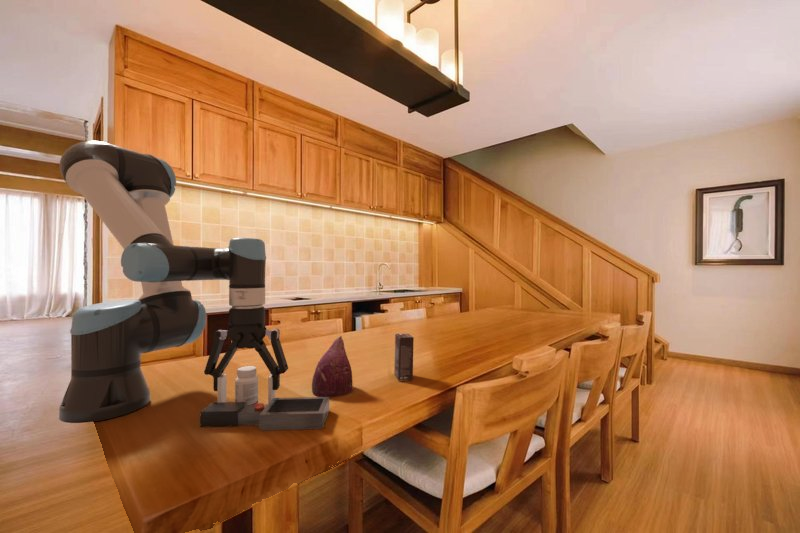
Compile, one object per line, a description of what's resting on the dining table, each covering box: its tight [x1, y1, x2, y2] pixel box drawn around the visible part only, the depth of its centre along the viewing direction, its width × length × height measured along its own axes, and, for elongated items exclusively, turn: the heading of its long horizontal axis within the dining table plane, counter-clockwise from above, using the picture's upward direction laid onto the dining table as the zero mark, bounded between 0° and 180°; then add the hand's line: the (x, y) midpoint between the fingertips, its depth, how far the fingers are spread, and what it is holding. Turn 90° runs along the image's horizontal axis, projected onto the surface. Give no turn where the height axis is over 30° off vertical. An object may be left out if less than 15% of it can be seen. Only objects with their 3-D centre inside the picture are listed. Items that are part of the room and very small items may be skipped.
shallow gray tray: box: [199, 396, 330, 431], centre depth 70 cm, size 24×8×3 cm, turn 94°
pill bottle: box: [234, 365, 259, 405], centre depth 77 cm, size 5×5×8 cm
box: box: [393, 333, 414, 382], centre depth 97 cm, size 6×4×12 cm
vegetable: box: [311, 335, 354, 398], centre depth 89 cm, size 10×10×15 cm
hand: (246, 404), depth 77 cm, fingers open, 10 cm apart
